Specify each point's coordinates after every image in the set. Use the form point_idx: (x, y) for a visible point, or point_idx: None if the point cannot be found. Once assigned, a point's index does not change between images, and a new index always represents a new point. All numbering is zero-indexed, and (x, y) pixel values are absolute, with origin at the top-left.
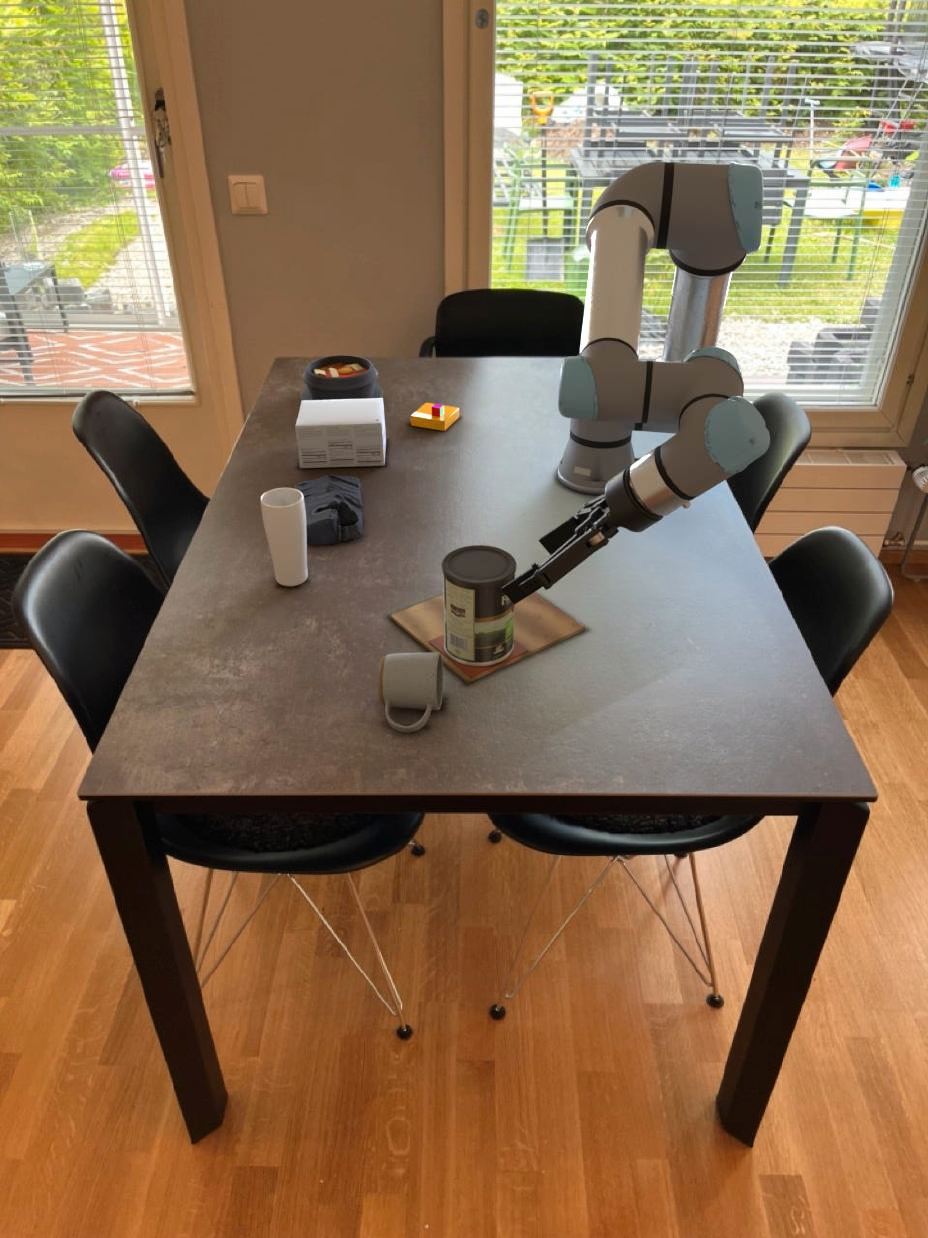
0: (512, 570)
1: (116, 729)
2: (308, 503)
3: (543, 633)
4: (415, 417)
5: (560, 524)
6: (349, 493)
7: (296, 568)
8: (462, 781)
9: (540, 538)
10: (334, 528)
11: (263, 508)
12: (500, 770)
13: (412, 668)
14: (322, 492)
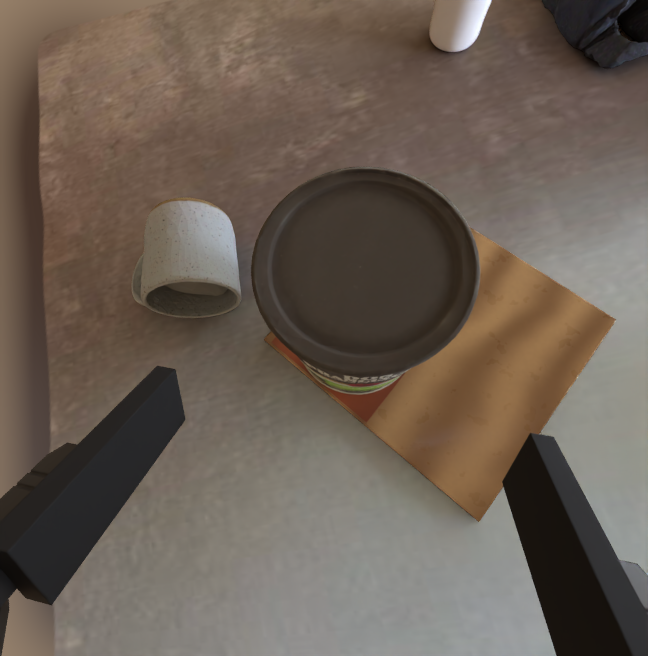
0: (349, 369)
1: (121, 13)
2: None
3: (429, 439)
4: None
5: (623, 572)
6: None
7: (444, 15)
8: (59, 388)
9: (546, 439)
10: (594, 16)
11: None
12: (83, 436)
13: (152, 249)
14: None
